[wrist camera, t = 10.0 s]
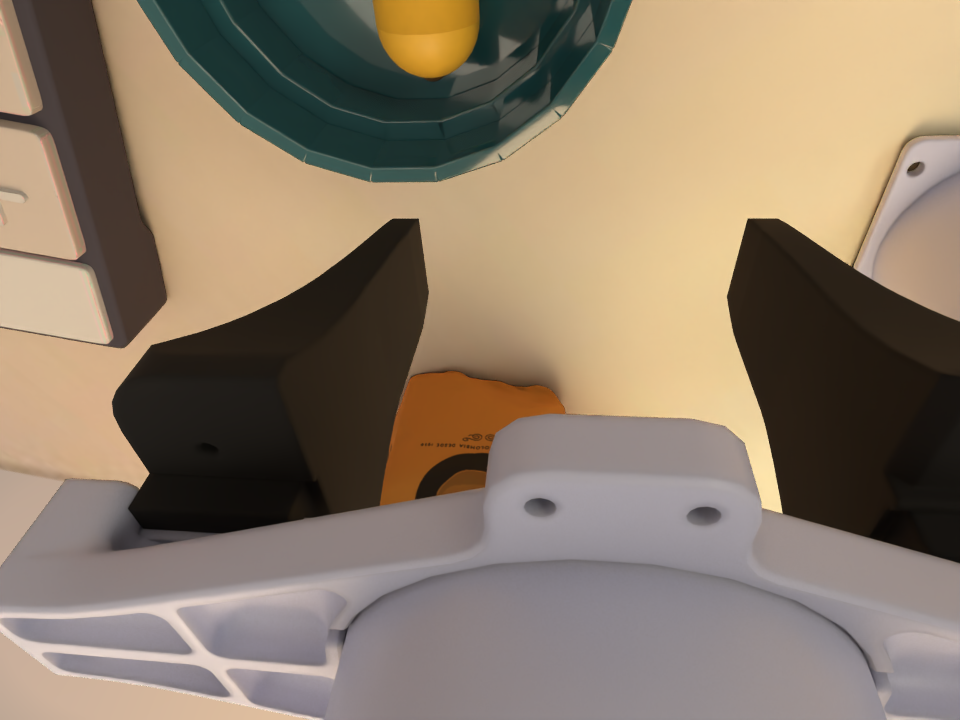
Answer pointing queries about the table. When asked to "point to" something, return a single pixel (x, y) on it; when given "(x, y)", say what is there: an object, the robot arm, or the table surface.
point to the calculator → (67, 185)
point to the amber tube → (428, 34)
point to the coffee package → (452, 432)
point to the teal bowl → (388, 79)
